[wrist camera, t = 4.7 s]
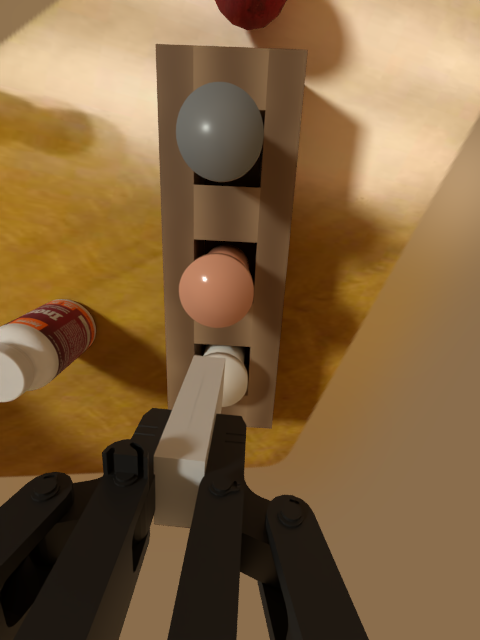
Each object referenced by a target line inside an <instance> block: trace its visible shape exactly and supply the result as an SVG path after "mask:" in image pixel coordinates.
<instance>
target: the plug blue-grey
mask: <svg viewBox="0 0 480 640" xmlns="http://www.w3.org/2000/svg"><path fill="white" fill-rule="evenodd" d="M263 137H264V128H263V121H262V117H261V114H260V111H259V109H258V107H257V105H256V103H255V102H254V100H253V99H252V98H251V97H250V95H249V94H248V93H246V92H245V91H244V90H243V89H241V88H240V87H238V86H236V85H233V84H230V83H227V82H212V83H208V84H205V85H203V86H201V87H199V88H197V89H196V90H195V91H193V92H192V93H191V94H190V95H189V96H188V97H187V99H186V100H185V101H184V103H183V105H182V107H181V109H180V111H179V114H178V118H177V123H176V139H177V144H178V147H179V151H180V153H181V155H182V157H183V159H184V161H185V162H186V163H187V165H188V166H189V167H190V168H191V169H192V170H193V171H194V172H195V173H197V174H198V175H200V176H201V177H203V178H206V179H208V180H212V181H216V182H228V181H233V180H236V179H239V178H241V177H243V176H244V175H245V174H247V173H248V171H249V170H250V169H251V168H252V167H253V166H254V164H255V163H256V161H257V159H258V157H259V155H260V152H261V149H262V145H263Z"/></svg>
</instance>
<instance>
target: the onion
mask: <svg viewBox="0 0 480 640" xmlns="http://www.w3.org/2000/svg"><path fill="white" fill-rule="evenodd" d="M215 1H216V4H217V6H218V8H219V10H220V12H221V13H222V14H223V15H224V16H225V17H226V18H227V19H228V20H229V21H230V22H231V23H232V24H233V25H236V26H238V27H241V28H243V29H246V30H251V29H257V28H262V27H265V26H266V25H267V24H269V23H270V22H271V21H272V20H274V19H275V18H276V17H277V16H278V15H279V13H280V12H281V10H282V8H283V6H284V4H285V2H286V1H287V0H215Z"/></svg>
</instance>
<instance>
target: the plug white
mask: <svg viewBox="0 0 480 640" xmlns="http://www.w3.org/2000/svg"><path fill="white" fill-rule="evenodd" d="M203 356H207V357H217V358H226V360H225V373H224V386H223V400H222V407H227V406H231V405H233V404H235V403H237V402H238V401H239V400H241V398H242V397H243V396H244V394H245V393H246V390H247V385H248V374H247V370H246V368H245V366H244V358H245V346H228V345H211V344H207V345H206V348H205V351H204V354H203Z"/></svg>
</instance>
